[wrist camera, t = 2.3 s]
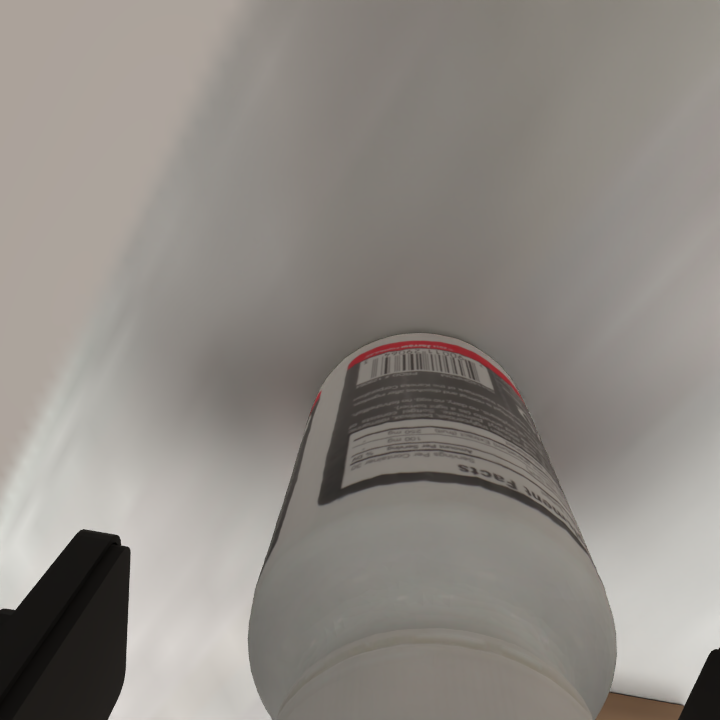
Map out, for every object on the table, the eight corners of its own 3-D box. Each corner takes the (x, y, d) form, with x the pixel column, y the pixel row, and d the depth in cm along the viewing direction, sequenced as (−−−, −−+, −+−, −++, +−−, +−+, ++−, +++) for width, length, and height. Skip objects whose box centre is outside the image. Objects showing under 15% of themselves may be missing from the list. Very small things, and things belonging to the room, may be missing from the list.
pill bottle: (431, 551, 17) (464, 1071, 8) (269, 442, 16) (87, 886, 7) (574, 413, 15) (837, 878, 6) (400, 280, 14) (392, 587, 5)
